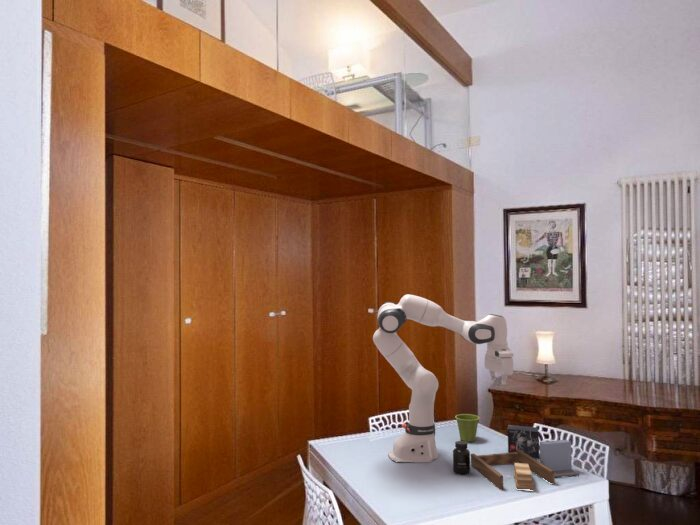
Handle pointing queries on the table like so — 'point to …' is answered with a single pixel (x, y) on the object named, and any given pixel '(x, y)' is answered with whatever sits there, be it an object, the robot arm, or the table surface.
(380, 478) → the table surface
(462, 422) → the plant pot
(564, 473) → the charcoal mat
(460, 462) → the supplement bottle
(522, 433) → the small box
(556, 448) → the gray block
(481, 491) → the table surface
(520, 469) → the offcut stack
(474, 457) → the walnut rack
